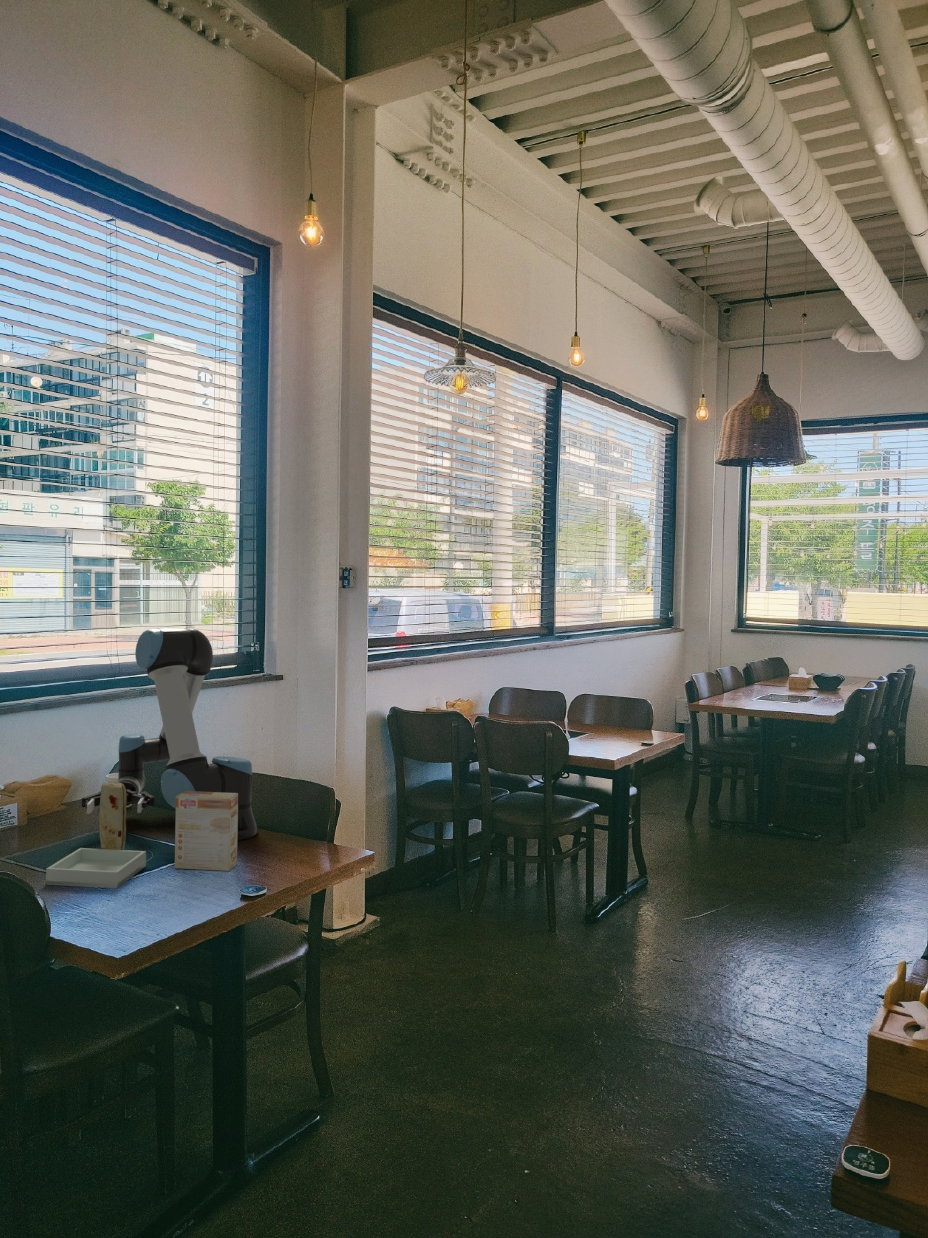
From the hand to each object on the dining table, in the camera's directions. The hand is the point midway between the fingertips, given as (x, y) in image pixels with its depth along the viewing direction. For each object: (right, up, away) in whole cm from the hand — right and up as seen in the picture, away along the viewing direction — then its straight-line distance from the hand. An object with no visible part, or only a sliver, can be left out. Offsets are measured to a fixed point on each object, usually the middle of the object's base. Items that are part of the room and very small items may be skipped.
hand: (113, 808), depth 264 cm
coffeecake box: (+30, -13, -14) cm, 35 cm away
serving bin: (+5, -12, -24) cm, 27 cm away
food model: (+1, -11, -5) cm, 13 cm away
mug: (-15, -9, +45) cm, 48 cm away
